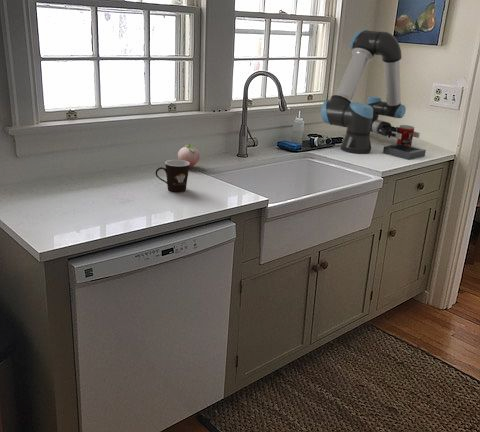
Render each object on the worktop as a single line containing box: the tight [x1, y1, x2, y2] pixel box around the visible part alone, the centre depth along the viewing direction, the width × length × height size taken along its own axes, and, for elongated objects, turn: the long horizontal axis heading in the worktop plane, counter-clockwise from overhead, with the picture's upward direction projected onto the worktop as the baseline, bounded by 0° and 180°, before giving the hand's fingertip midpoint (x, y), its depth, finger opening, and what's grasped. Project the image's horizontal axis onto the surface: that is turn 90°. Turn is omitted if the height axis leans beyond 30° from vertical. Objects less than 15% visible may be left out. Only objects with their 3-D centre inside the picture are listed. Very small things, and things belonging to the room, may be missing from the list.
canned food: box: [396, 124, 415, 146], centre depth 281 cm, size 8×8×11 cm
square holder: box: [382, 143, 427, 161], centre depth 265 cm, size 15×15×3 cm
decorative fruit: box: [177, 143, 201, 169], centre depth 215 cm, size 9×8×10 cm
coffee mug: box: [155, 159, 190, 194], centre depth 187 cm, size 12×9×10 cm
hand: (410, 136), depth 278 cm, fingers open, 13 cm apart
